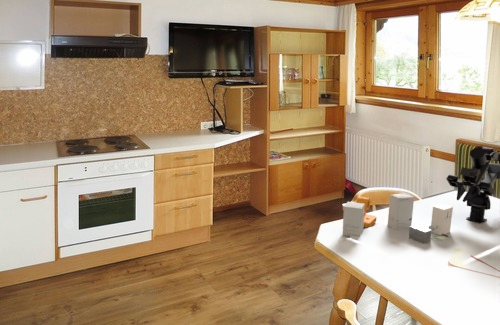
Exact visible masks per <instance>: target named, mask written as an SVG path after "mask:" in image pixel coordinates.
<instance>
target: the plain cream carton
mask: <svg viewBox="0 0 500 325" xmlns="http://www.w3.org/2000/svg"><path fill="white" fill-rule="evenodd" d="M453 208H454V207H453V206H450V205H447V204H443V203H440V204H437V205H433V206H432V213H431V222H430V226H428V229H431V230H432V231H431V234H432V233H433V234H435V235H439V236H442V235H443V236H446V237H448V238H449V235H448V234H449V233H450V232H451V226H452V218H453Z"/></svg>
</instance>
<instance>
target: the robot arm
mask: <svg viewBox="0 0 500 325" xmlns="http://www.w3.org/2000/svg"><path fill="white" fill-rule="evenodd" d="M469 155H470V156H469V157H470V160H471V164H472V166H471V168H467V167H463V166H462V167H461V168H460V171H459V175H461V177H462V178H460V177H459V176H458V175H454V174H448V175H447V177H446V181H447V183H448V184H449V186H450V187H453V188H457V193H456V200H457V201H459V200H460V199H461V198H462V197H463V195H464V194H465V195H464V197H463V198H462V202H463V203H465V202H466V206H467V207H470V212H469V216H468V217H466V220H468V221H472V222H475V223H479V224H481V223H484V222H486V221H488V219H487V218H485V213H486V211H487V210H491V200H490V197H492V196H493V195H494V193H495V189H494V187H493V186H494V184H495V183H496V181H497V180H500V152H498V151H497V152H496V149H495V148H493V147H485V146H481V145H477V147H474V148H472V149H471V150H470V151H469ZM492 161H494V162H498V163H494V162H492ZM465 187H469V188H468V190H466V188H465ZM466 191H467V192H466ZM465 192H466V193H465Z"/></svg>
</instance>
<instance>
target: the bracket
mask: <svg viewBox="0 0 500 325" xmlns="http://www.w3.org/2000/svg"><path fill="white" fill-rule="evenodd" d="M355 203H362V204H365V208H364V226H363V228H372V227H373V226H375V224H376V221H377V216H376V215H371V214H367V211H369V210H370V207H371V198H369V197H365V196H358V197H357V198H356V201H355Z"/></svg>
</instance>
